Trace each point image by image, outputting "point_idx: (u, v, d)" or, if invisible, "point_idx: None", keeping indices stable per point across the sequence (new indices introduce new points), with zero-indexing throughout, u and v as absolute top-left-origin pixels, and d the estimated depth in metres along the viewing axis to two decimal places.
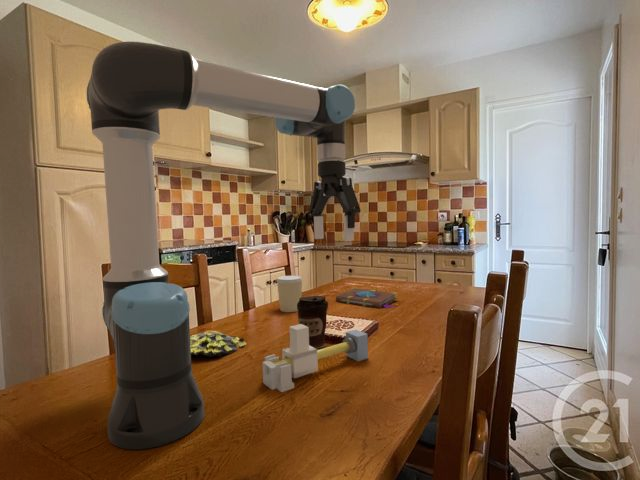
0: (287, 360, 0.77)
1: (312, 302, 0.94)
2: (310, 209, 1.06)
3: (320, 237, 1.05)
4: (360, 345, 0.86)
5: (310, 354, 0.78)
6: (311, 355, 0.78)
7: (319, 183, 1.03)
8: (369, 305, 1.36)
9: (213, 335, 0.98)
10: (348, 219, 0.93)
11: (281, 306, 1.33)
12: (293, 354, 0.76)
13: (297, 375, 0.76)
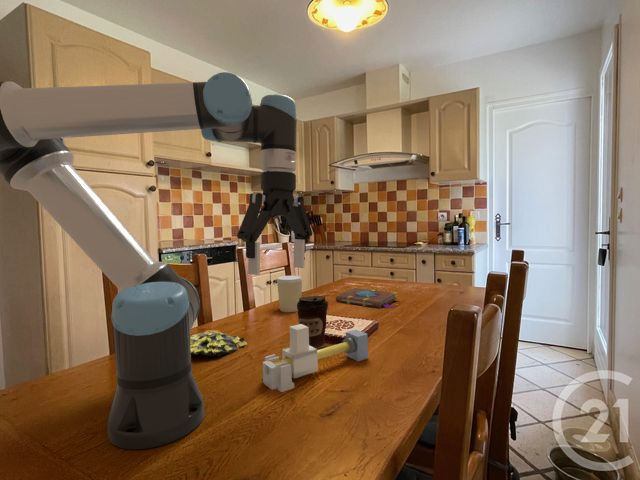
0: (287, 360, 0.77)
1: (312, 302, 0.94)
2: None
3: (298, 266, 0.84)
4: (360, 345, 0.86)
5: (310, 354, 0.78)
6: (311, 355, 0.78)
7: None
8: (369, 305, 1.36)
9: (213, 335, 0.98)
10: None
11: (281, 306, 1.33)
12: (293, 354, 0.76)
13: (297, 375, 0.76)
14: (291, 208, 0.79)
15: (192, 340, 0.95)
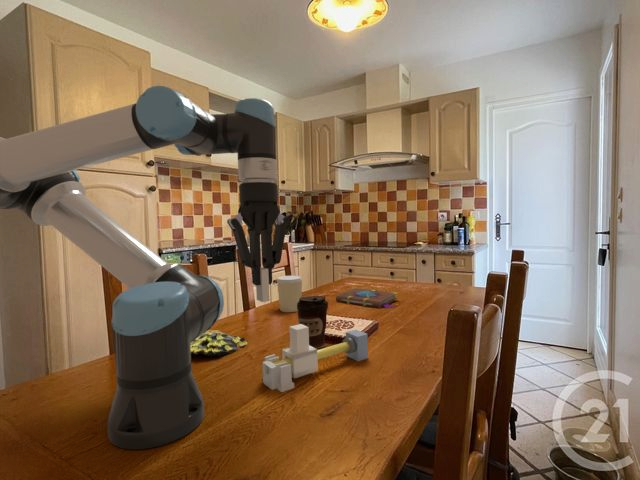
0: (287, 360, 0.77)
1: (312, 302, 0.94)
2: None
3: None
4: (360, 345, 0.86)
5: (310, 354, 0.78)
6: (311, 355, 0.78)
7: None
8: (369, 305, 1.36)
9: (214, 335, 0.99)
10: None
11: (281, 306, 1.33)
12: (293, 354, 0.76)
13: (297, 375, 0.76)
14: (269, 223, 0.72)
15: None
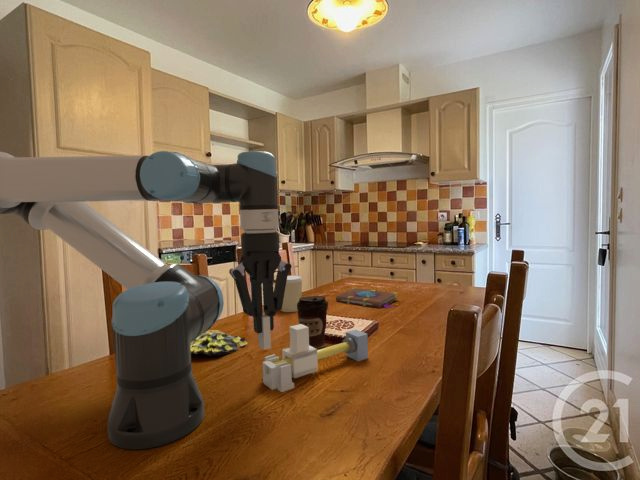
0: (287, 360, 0.77)
1: (312, 302, 0.94)
2: None
3: None
4: (360, 345, 0.86)
5: (310, 354, 0.78)
6: (311, 355, 0.78)
7: None
8: (369, 305, 1.36)
9: (214, 334, 0.99)
10: None
11: None
12: (293, 354, 0.76)
13: (297, 375, 0.76)
14: (271, 271, 0.72)
15: None
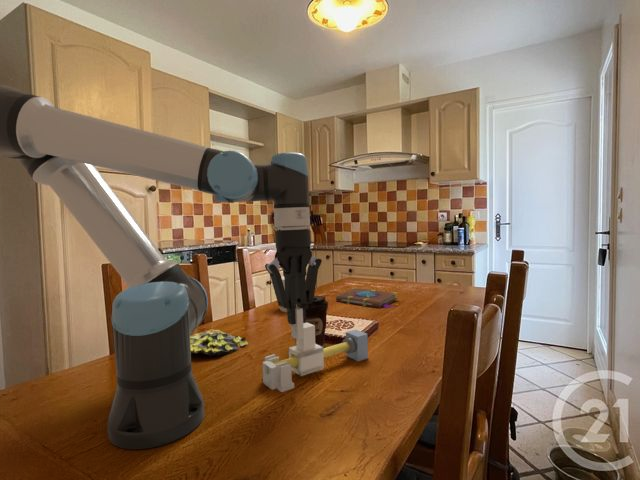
0: (287, 360, 0.77)
1: (312, 302, 0.94)
2: None
3: None
4: (360, 345, 0.86)
5: (316, 352, 0.79)
6: (317, 353, 0.79)
7: None
8: (369, 305, 1.36)
9: (215, 334, 0.99)
10: None
11: None
12: (300, 352, 0.77)
13: (304, 373, 0.77)
14: (303, 266, 0.77)
15: (193, 339, 0.96)
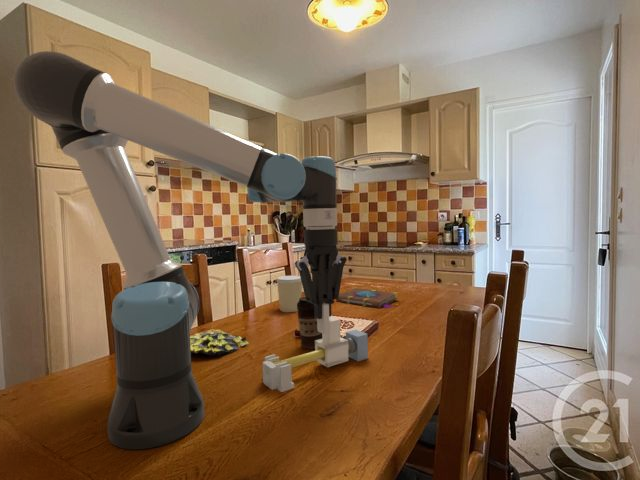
0: (287, 360, 0.77)
1: None
2: None
3: None
4: (360, 345, 0.86)
5: (342, 345, 0.83)
6: (342, 345, 0.83)
7: None
8: (369, 305, 1.36)
9: (215, 334, 0.99)
10: None
11: (281, 306, 1.33)
12: (326, 345, 0.81)
13: (330, 364, 0.81)
14: (330, 264, 0.81)
15: (194, 339, 0.96)
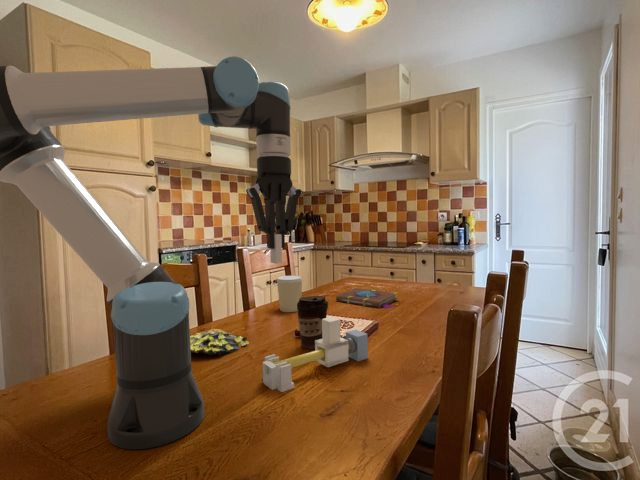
0: (287, 360, 0.77)
1: (312, 302, 0.94)
2: None
3: None
4: (360, 345, 0.86)
5: (342, 345, 0.83)
6: (342, 345, 0.83)
7: None
8: (369, 305, 1.36)
9: (216, 334, 0.99)
10: None
11: (281, 306, 1.33)
12: (326, 344, 0.81)
13: (330, 364, 0.81)
14: (283, 193, 0.81)
15: (195, 338, 0.96)
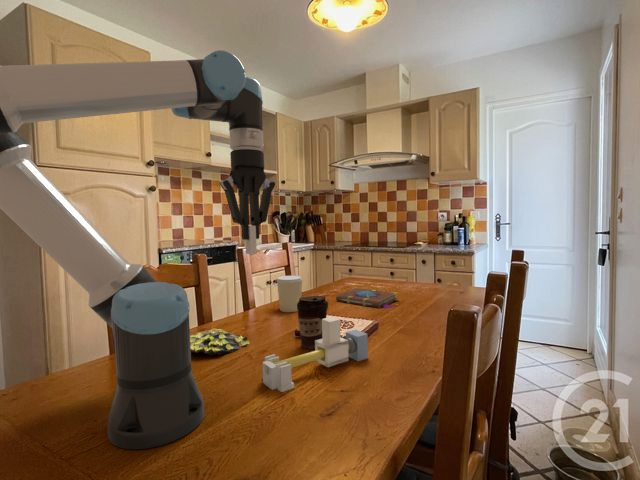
0: (287, 360, 0.77)
1: (312, 302, 0.94)
2: None
3: None
4: (360, 345, 0.86)
5: (342, 345, 0.83)
6: (342, 345, 0.83)
7: None
8: (369, 305, 1.36)
9: (217, 333, 0.99)
10: None
11: (281, 306, 1.33)
12: (326, 344, 0.81)
13: (330, 364, 0.81)
14: (256, 186, 0.83)
15: (195, 338, 0.97)
